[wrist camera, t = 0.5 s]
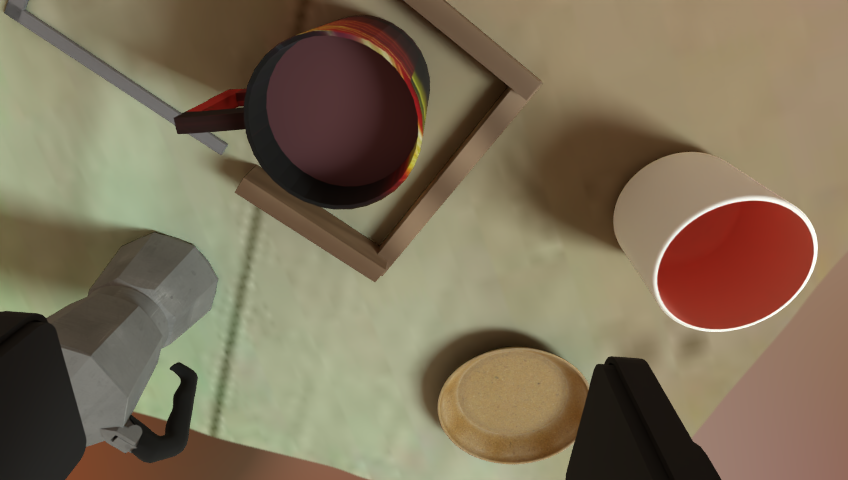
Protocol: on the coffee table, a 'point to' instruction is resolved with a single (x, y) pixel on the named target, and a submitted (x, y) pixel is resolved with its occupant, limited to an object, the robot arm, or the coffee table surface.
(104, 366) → the coffeepot
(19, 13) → the frame
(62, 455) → the robot arm
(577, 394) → the plant saucer
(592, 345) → the coffee table surface
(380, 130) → the mug
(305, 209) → the frame
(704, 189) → the cup
